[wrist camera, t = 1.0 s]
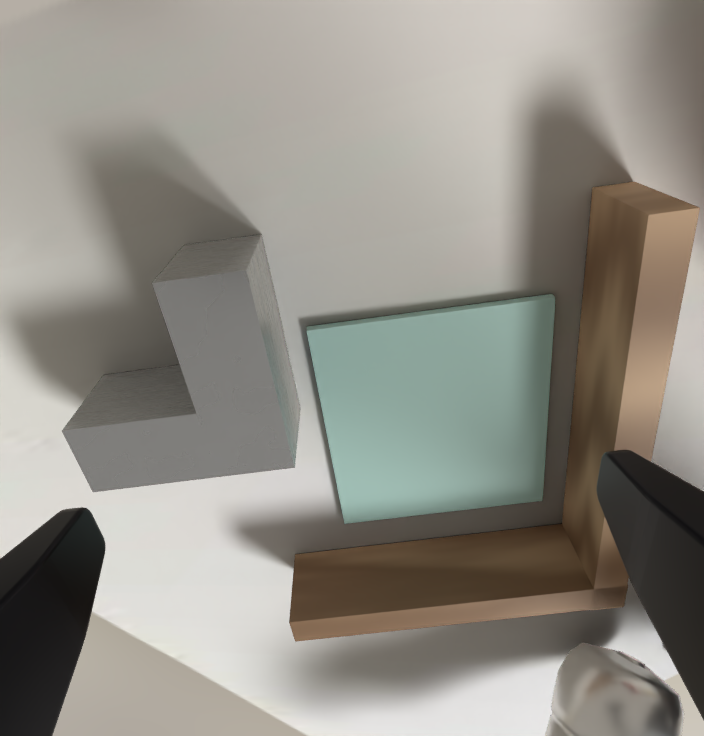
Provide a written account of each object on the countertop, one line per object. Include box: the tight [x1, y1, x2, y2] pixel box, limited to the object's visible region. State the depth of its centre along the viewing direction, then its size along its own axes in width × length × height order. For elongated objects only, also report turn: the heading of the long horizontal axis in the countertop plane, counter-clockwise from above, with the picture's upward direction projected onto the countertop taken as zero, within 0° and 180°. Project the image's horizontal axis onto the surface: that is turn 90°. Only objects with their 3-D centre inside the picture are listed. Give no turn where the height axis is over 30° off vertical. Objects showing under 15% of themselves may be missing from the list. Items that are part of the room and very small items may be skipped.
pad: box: [306, 294, 555, 524], centre depth 24 cm, size 11×10×1 cm
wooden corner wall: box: [289, 182, 700, 641], centre depth 23 cm, size 19×16×4 cm
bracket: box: [62, 234, 301, 492], centre depth 20 cm, size 8×8×4 cm
